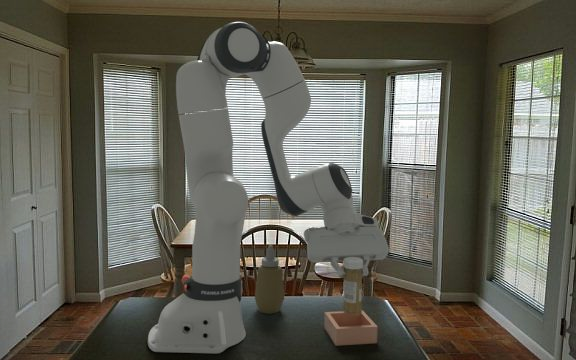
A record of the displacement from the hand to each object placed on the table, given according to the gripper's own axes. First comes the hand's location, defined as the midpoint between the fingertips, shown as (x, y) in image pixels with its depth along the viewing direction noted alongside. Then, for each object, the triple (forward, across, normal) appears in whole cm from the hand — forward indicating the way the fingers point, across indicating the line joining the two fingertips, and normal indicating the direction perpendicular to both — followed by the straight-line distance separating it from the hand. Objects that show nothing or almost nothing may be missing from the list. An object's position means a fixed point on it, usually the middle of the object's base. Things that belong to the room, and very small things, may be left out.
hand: (353, 275), depth 111 cm
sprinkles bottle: (+6, 0, +7) cm, 10 cm away
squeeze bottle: (-2, -17, +24) cm, 29 cm away
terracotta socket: (+10, 0, +11) cm, 15 cm away
